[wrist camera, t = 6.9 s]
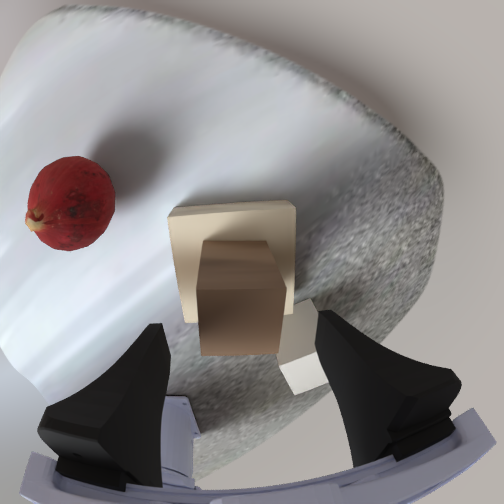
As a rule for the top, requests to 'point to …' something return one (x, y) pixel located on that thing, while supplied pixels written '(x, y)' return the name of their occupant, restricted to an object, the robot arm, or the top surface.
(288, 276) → the beech slab
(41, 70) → the top surface
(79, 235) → the onion
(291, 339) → the offwhite block
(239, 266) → the walnut block
